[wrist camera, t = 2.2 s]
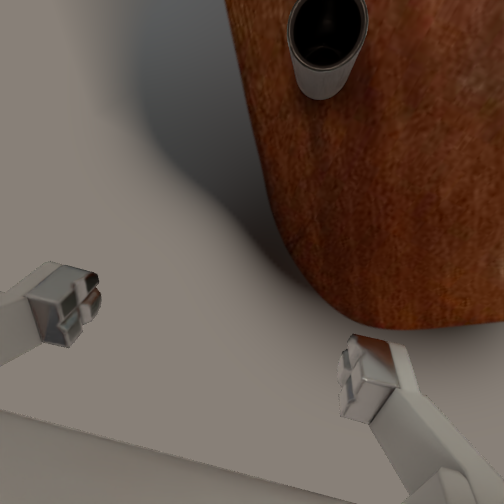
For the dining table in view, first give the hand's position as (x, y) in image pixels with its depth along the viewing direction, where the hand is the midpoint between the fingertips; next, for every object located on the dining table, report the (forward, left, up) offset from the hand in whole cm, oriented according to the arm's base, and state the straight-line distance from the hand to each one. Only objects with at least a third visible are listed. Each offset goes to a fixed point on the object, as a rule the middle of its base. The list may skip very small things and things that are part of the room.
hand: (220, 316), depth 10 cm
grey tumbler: (-2, +12, -23) cm, 26 cm away
